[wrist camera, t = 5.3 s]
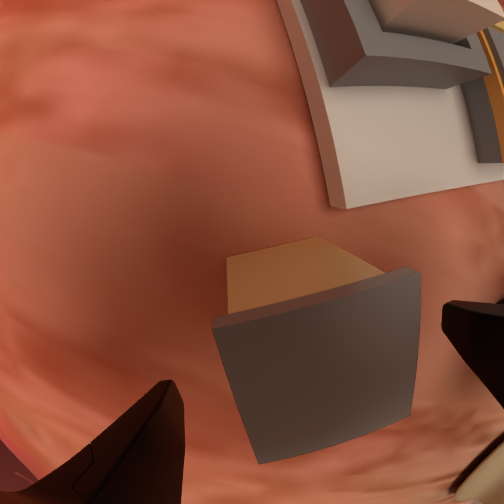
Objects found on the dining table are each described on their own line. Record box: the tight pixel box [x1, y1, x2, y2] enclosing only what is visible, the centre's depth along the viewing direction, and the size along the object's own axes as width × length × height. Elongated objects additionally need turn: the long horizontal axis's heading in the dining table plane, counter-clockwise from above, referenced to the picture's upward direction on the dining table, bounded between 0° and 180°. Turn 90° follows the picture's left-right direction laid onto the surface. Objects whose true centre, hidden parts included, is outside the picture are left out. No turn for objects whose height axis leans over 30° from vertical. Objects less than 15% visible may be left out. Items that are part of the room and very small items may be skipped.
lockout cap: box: [212, 236, 421, 464], centre depth 10 cm, size 5×5×8 cm
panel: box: [276, 0, 504, 209], centre depth 9 cm, size 19×17×6 cm
